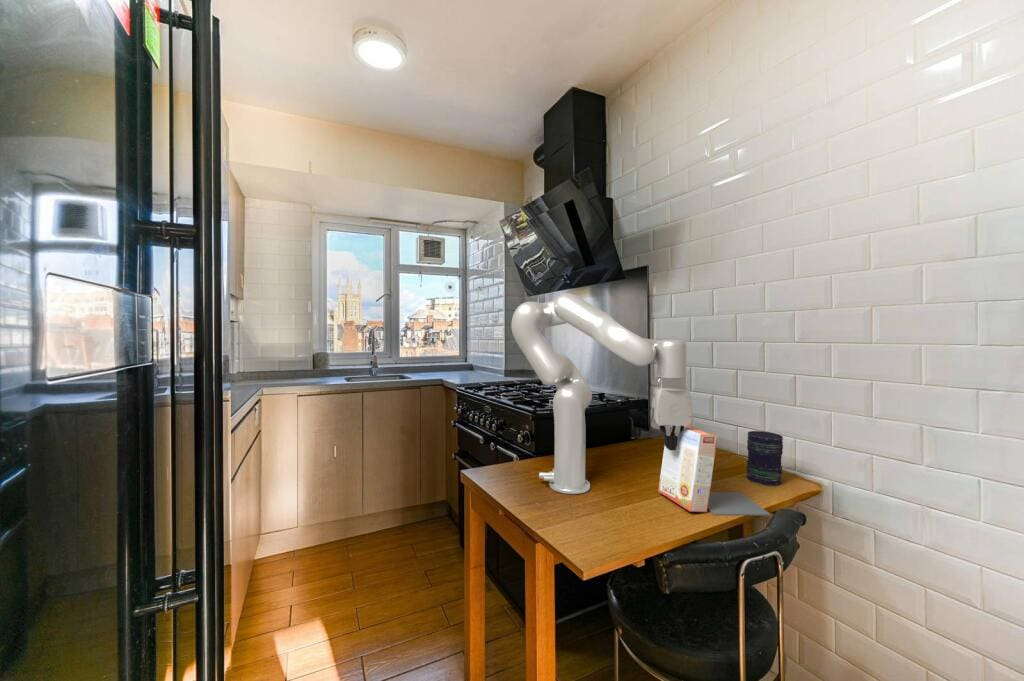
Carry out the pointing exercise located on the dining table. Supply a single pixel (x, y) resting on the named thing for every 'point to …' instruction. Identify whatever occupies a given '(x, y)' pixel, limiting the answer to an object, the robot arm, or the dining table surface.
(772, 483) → the storage jar
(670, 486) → the cracker box
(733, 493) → the mat
